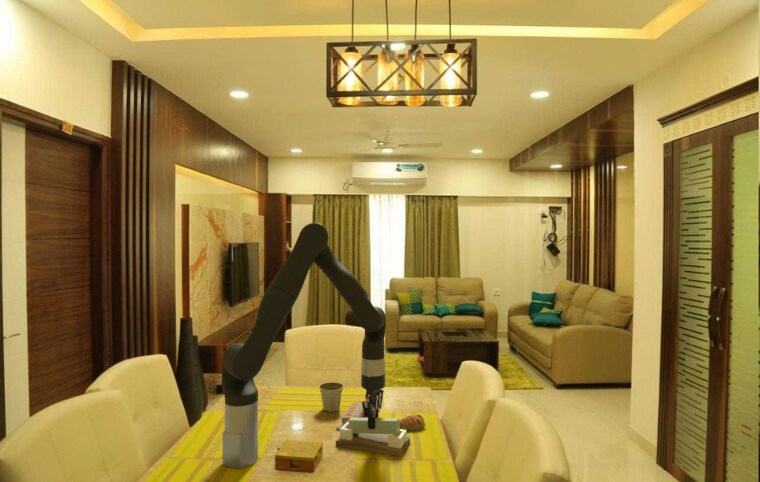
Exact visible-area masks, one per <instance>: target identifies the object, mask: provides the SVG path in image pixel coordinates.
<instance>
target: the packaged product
mask: <svg viewBox="0 0 760 482" xmlns="http://www.w3.org/2000/svg"><path fill="white" fill-rule="evenodd" d="M363 401H364V400H363ZM363 401H362V400H361V401H357V402H352V403H351V404H350V406H349V407H348V409H347V410H346V411H345V413H344V414H343V416H342V417H341V420H340V422H339V423H338V424H337V426H336V431H340V428H341V427H342V426H343V425H344V424H346V423H347V422H348V420H349V419H350V418H351V417H355V418H368V417H365V415H364V411H363V407H362V402H363Z"/></svg>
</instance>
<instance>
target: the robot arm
mask: <svg viewBox="0 0 760 482" xmlns="http://www.w3.org/2000/svg"><path fill="white" fill-rule="evenodd" d="M313 264H315V265H316V266H317V267H318V268H319V269H320V270H321V272H323V274H325V276H326V277H327V278H328V280H329V281H330V283H331V284H332V285H333V286H334V288H335V289H336V290H337V292H338V293H339V295H340V296H341V298H342V299H343V300H344V301H345V303H346V304H347V305H348V307H349V308H350V310H351V312H352V313H353V315H354V317H355V320H356V321H357V323H358V324H359V325H360V327H361V328H362V329H363V330H364V336H363V337H364V338H363V340H362V343H361V344H362V346H361V363H360V365H361V366H360V371H361V372H360V376H361V377H360V383H361V388H362V389H364V390H365V391H366V392H365V395H364V399H365V401H364V400H363V402H362V407H363V411H364V415H365V417H368V428H369V429H375V418H379V414H380V410H381V409H382V404H383V400H384V393H385V392H384V388H385V387H386V361H385V337H386V329H387V327H386V326H387V317H386V313H385V311H384V310H383V308H381V307H379V306H374V305H373V304H372V302H371V300H370V299H369V294H368V292H367V291H366V290H365V288H364V287H363V285H362V284H361V283H360V281H359V279H357V278H356V276H355V275H354V274H353V273H352V272H351V271H350V270H348V268H346V267H345V265H343V264H342V263H341V262H340V261H339V260H338V258H337V257H336V256H335V254H334V252H333V251H332V250H331V248H330V246H329V233H328V230H327V229H326V227H325V226H324V225H323V224H321V223H320V222H310V223H309V224H306V225H305V226H304V227H302V229H301V230H300V232H299V234H298V237H297V239H296V242H295V244H294V246H293V248H292V250H291V251H290V254H289V256H288V257H287V259H286V260H285V262H284V263H283V264H282V267H280V269H279V270H278V272H277V273H276V274H275V276H274V278H273V279H272V281H271V282H270V284H269V285H268V288H267V289H266V290H265V292H264V293H263V295H262V298H261V300H260V303H259V307H258V310H257V315H256V320H255V324H254V326H253V329H252V331H251V333H250V334H249V336H248V337H247V339H246V341H245V342H244V343H240V342H239V343H234V344H231V345H230V346H229V347H227V348H226V350H224V352H223V355H222V359H221V383H222V385H221V386H222V387H221V388H222V393H223V396H224V431H223V432H222V466H224V467H228V468H232V469H237V470H241V469H243V468H245V467H248V466H251V465H253V464H255V463H256V462H258V460H259V390H258V388H257V386H256V383H255V380H254V378H255V377H256V376H257V375H258V374H260V371H261V369H262V367H263V366H264V364H265V361H266V359H267V356H268V354H269V352H270V349H271V347H272V345H273V342H274V341H275V339H276V337H277V335H278V333H279V332H280V329H281V328H282V326H283V324H284V323H285V321H286V319H287V318H288V315H289V314H290V313H291V310H292V309H293V307H294V305H295V303H296V302H297V299H298V297H299V296H300V293H301V291H302V289H303V286H304V284H305V281H306V279H307V276H308V274H309V271H310V269H311V267H312V266H313Z"/></svg>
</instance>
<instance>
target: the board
mask: <svg viewBox="0 0 760 482" xmlns="http://www.w3.org/2000/svg"><path fill="white" fill-rule="evenodd" d="M389 435H391V434H368V433H358V434H357V433H353V439H352V440H346V439H340V436H339V437H338V438H337V439H336V440H335V446H337V447H342V448H348V449H354V450H360V451H366V452H367V451H368V452H372V453H378V454H383V455H384V454H385V455H391V456H396V457H401V456H402V455H403V453H404V452H405V451H406V449H407V447H408V446H409V444H410V443H411V438H410V437H409V436H407V440H406V442H405V443H404V445H403V446H402V447H401V449H400V448H394V447H388V436H389Z"/></svg>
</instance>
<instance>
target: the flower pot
mask: <svg viewBox="0 0 760 482" xmlns="http://www.w3.org/2000/svg"><path fill="white" fill-rule="evenodd" d="M344 387H345V385H344V383H341V382H337V381H331V382H330V381H329V382H324V383H321V384H319V385H318V389H319V391H320V395H321V402H322V408H323V409H322V410H324V411H325V412H326V411H327V412H329V413H330V412H332V413H333V412H337V411H338V410H340V409H341V400H342V392H343V389H344Z"/></svg>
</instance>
